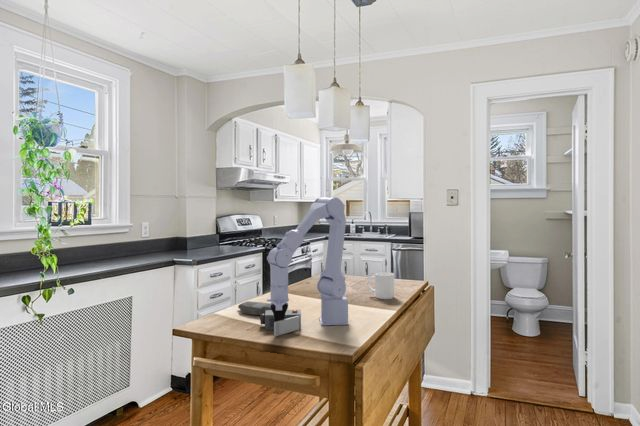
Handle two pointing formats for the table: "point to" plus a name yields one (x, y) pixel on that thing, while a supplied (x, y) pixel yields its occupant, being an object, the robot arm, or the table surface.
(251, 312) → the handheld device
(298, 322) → the side door
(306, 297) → the table surface
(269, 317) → the camera body
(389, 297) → the mug
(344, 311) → the robot arm
